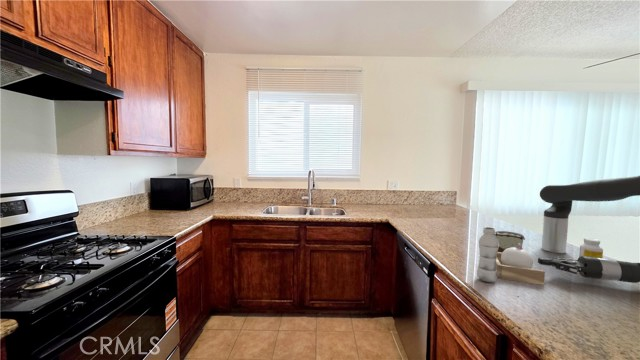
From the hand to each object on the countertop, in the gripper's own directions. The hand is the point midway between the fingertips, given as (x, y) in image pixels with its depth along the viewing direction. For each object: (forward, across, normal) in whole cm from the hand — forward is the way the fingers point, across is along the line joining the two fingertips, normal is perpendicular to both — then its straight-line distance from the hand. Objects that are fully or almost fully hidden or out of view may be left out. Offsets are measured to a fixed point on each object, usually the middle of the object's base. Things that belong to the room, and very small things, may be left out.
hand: (538, 260), depth 102 cm
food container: (+4, -27, +6) cm, 28 cm away
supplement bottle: (-22, -16, +6) cm, 28 cm away
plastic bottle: (+19, +13, +6) cm, 24 cm away
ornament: (+7, 0, +6) cm, 10 cm away
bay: (+7, 0, +6) cm, 9 cm away
